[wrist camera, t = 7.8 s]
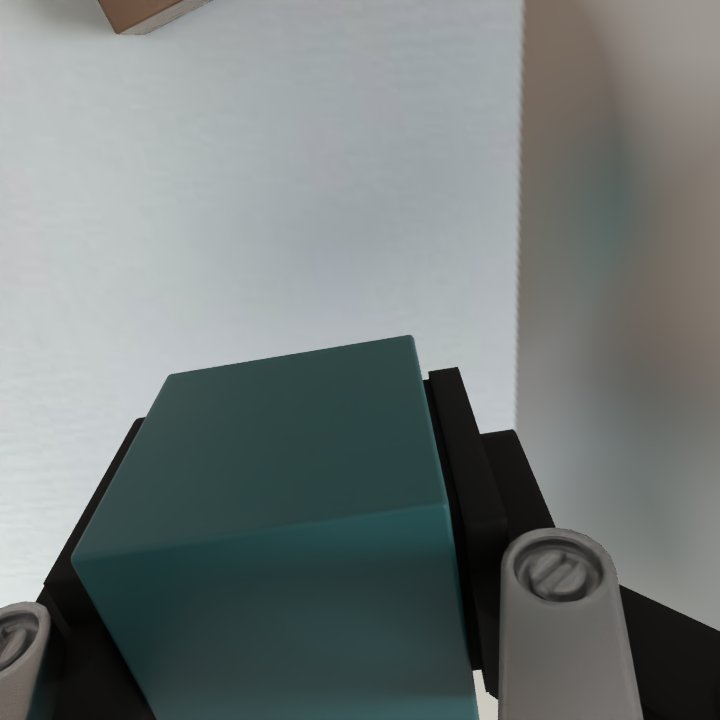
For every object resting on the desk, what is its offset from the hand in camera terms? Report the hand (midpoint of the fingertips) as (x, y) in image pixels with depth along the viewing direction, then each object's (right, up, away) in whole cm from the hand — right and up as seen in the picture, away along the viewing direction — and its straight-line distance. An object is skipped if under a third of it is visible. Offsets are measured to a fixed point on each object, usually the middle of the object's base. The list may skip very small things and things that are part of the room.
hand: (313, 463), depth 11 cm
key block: (0, 0, 0) cm, 0 cm away
